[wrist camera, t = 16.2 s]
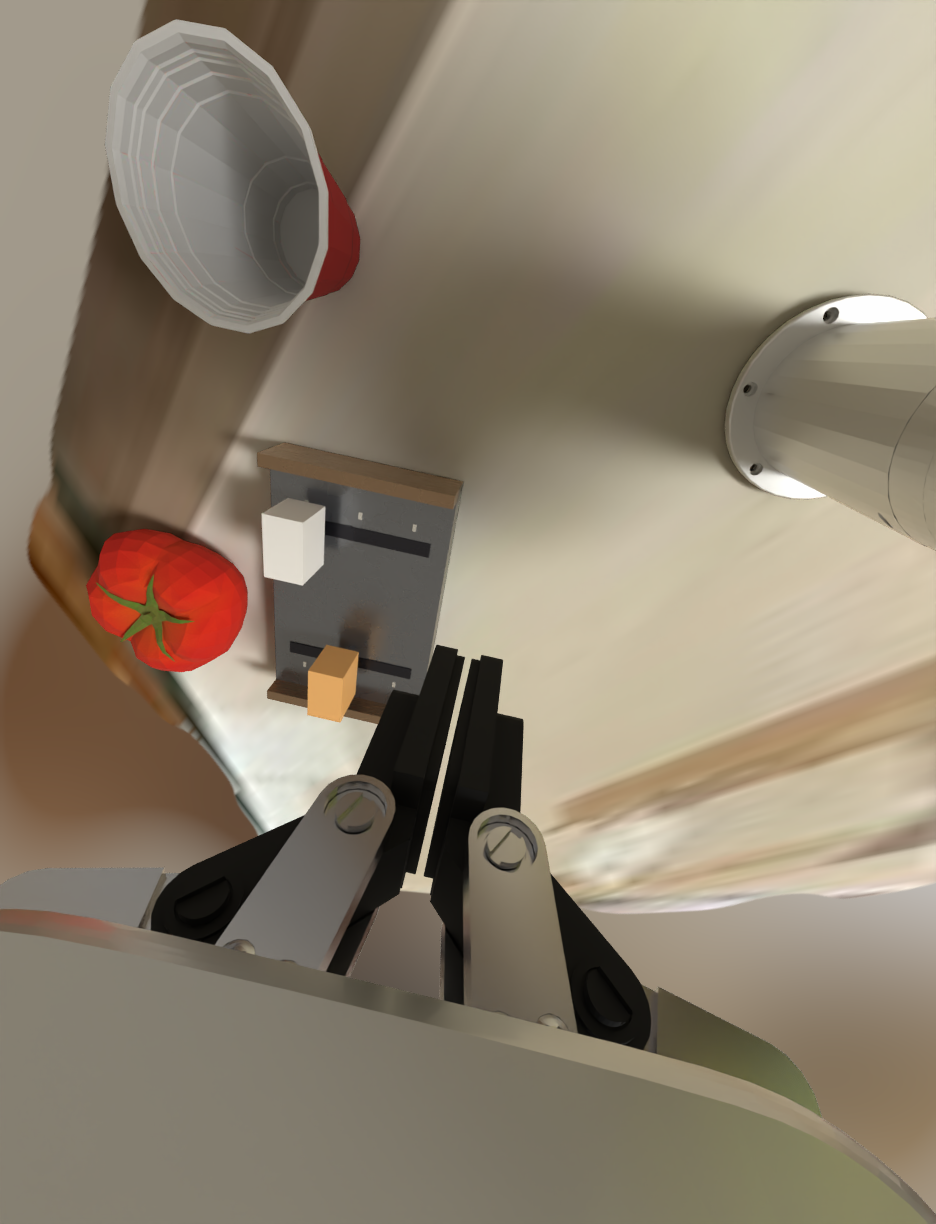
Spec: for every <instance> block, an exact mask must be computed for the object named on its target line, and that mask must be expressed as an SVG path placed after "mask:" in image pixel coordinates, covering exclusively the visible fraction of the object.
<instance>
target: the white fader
mask: <svg viewBox="0 0 936 1224" xmlns="http://www.w3.org/2000/svg"><path fill="white" fill-rule="evenodd" d="M324 535H325V506H322V505H318V504H313V503H309V502H304V501H300V500H295V499H291V498H287V499H285V500H283V501H282V502H280V503H278V504H277V505H275V506H273V507H272V508H270V509H268V510H267V511H265V512H263V513H262V538H263V563H264V577H267V578H271V579H276V580H280V581H285V582H289V583H294V584H298V585H302V586H303V585H304V584H305V583H306V582H307V581H308V580H309V579H310V578H311V577H312V576H313V575H314V574H315V573H316V572H317V571H318V570H319V569H320V568H321V567H322V566H323V565H324Z"/></svg>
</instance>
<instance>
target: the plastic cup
mask: <svg viewBox="0 0 936 1224" xmlns="http://www.w3.org/2000/svg"><path fill="white" fill-rule="evenodd" d="M105 148H106V154H107V159H108V164H109V169H110V175H111V180H112V185H113V191H114V196H115V201H116V206H117V208H118V210H119V212H120V214H121V216H122V219H123V221H124V223H125V225H126V227H127V230H128V232H129V234H130V236H131V238H132V241H133V243H134V245H135V247H136V249H137V251H138V254H139V256H140V258H141V259H142V261H143V262H144V263H145V264H146V266H147V267H148V268H149V269H150V271H151V272H152V273H153V274H154V276H155V277H156V278H157V279H158V281H159V282H160V283H161V284H162V286H163V287H164V288H165V289H166V291H167V292H168V293H169V294H170V296H171V297H172V298H173V299H174V300H175V301H177V302H178V303H179V304H181V305H182V306H184V307H185V308H187V309H188V310H190V311H191V312H193V313H194V314H195V315H197V316H198V317H200V318H201V319H203V320H204V321H206V322H207V323H208V324H210V325H212V326H217V327H221V328H226V329H230V330H235V331H239V332H244V333H248V334H249V333H252V332H256V331H259V330H263V329H266V328H270V327H273V326H276V325H280V324H283V323H284V322H285V321H286V320H287V319H288V318H289V317H290V316H291V315H292V314H293V313H294V312H295V311H296V310H297V309H298V308H299V307H300V306H301V305H302V304H303V303H304V302H305V301H307V300H310V299H314V298H317V297H321V296H324V295H327V294H328V293H331V292H335V291H338V290H339V289H341V288H342V287H343V286H344V285H345V284H346V283H347V282H348V281H349V280H350V279H351V278H352V276H353V274H354V271H355V269H356V266H357V264H358V261H359V253H360V236H359V232H358V228H357V224H356V220H355V216H354V214H353V212H352V210H351V209H350V207H349V206H348V204H347V201H346V198H345V197H344V195H343V193H342V192H341V190H340V189H339V187H338V185H337V184H336V182H335V180H334V179H333V177H332V176H331V174H330V172H329V171H328V169H327V168H326V166H325V165H324V163H323V161H322V158H321V157H320V155H319V154H318V152H317V149H316V145H315V142H314V138H313V134H312V131H311V129H310V127H309V125H308V123H307V121H306V120H305V118H304V117H303V115H302V113H301V112H300V110H299V108H298V107H297V105H296V104H295V102H294V100H293V99H292V97H291V95H290V94H289V92H288V91H287V89H286V87H285V86H284V84H283V82H282V81H281V79H280V78H279V76H278V74H277V73H276V71H275V69H274V68H273V66H271V65H270V64H269V63H268V62H266V61H265V60H264V59H263V58H261V57H260V56H259V55H258V54H256V53H255V52H254V51H253V50H251V49H250V48H249V47H248V46H246V45H245V44H244V43H243V42H241V41H240V40H239V39H238V38H236V37H235V36H234V35H233V34H232V33H230V32H229V31H228V30H227V29H225V28H220V27H215V26H209V25H204V24H198V23H193V22H187V21H182V20H176V19H175V20H174V21H172V22H170V23H168V24H166V25H164V26H162V27H160V28H159V29H157V30H155V31H153V32H151V33H149V34H147V35H145V36H143V37H142V38H140V39H138V40H136V41H135V42H134V44H133V46H132V48H131V49H130V51H129V53H128V55H127V57H126V59H125V60H124V62H123V64H122V66H121V68H120V70H119V72H118V73H117V75H116V77H115V79H114V81H113V83H112V85H111V87H110V97H109V107H108V117H107V128H106V139H105Z"/></svg>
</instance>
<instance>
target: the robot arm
mask: <svg viewBox="0 0 936 1224" xmlns="http://www.w3.org/2000/svg"><path fill="white" fill-rule="evenodd" d="M825 312H827V318H826V319H825V320H824V321H823V315H824V313H825ZM745 385H748V386H749V389H748V391H747V392H745V393H744V392H743V389H744V387H745ZM725 437H726V445H727V448H728V451H729V454H730V457H731V460H732V461H733V463H734V464H735V466H736V468H737V469H738V471H739V472H740V473H741V474H742V475H743V476H744V477H745V478H746V479H747V480H748V481H749V482H750V483H752V484H754V485H755V486H757V487H758V488H759V489H761V490H763V491H766V492H768V493H770V494H772V495H774V496H779V497H784V498H788V499H815V498H822V497H830V498H832V499H834V500H835V501H837V502H839V503H841V504H843V505H845V506H847V507H849V508H851V509H853V510H855V511H857V512H859V513H861V514H863V515H865V516H867V517H869V518H871V519H873V520H875V521H877V522H879V523H880V524H882V525H884V526H886V527H888V528H890V529H892V530H894V531H896V532H898V533H900V534H902V535H904V536H906V537H908V538H910V539H912V540H914V541H916V542H918V543H920V544H922V545H924V546H926V547H929V548H931V549H933V550H935V551H936V318H928V317H927V316H926V315H925V314H924V312H922V311H921V310H919V309H918V308H917V307H915V306H914V305H912V304H911V303H909V302H907V301H905V300H902V299H899V298H896V297H893V296H890V295H879V294H861V295H852V296H846V297H841V298H837V299H833V300H828V301H826V302H823V303H821V304H819V305H816V306H814V307H811V308H809V309H807V310H805V311H803V312H802V313H800V314H798V315H797V316H795V317H793V318H792V319H790V320H788V321H787V322H785V323H784V324H783V325H782V326H781V327H779V328H778V329H777V330H776V331H775V332H773V333H772V334H771V335H770V336H769V337H768V338H767V339H766V340H765V341H764V342H763V343H762V344H761V345H760V346H759V348H758V349H757V350H756V351H755V352H754V353H753V354H752V356H751V357H750V359H749V360H748V362H747V363H746V365H745V366H744V368H743V369H742V371H741V372H740V374H739V376H738V379H737V381H736V383H735V385H734V387H733V389H732V392H731V395H730V399H729V402H728V405H727V409H726V418H725ZM753 464H755V467H754V468H753V469H752V470H750V467H751V466H752V465H753ZM457 652H458V649H453V648H449V647H445V646H440V645H436V648H435V650H434V653H433V656H432V659H431V662H430V665H429V668H428V671H427V674H426V677H425V680H424V683H423V686H422V689H421V692H420V694H419V695H416V694H411V693H407V692H403V691H398V690H393V691H392V693H391V695H390V697H389V699H388V702H387V704H386V706H385V709H384V711H383V713H382V716H381V718H380V721H379V723H378V725H377V728H376V730H375V732H374V735H373V737H372V739H371V742H370V744H369V746H368V749H367V751H366V754H365V756H364V758H363V761H362V763H361V765H360V768H359V770H358V772H357V775H348V776H345V777H341V778H338V779H337V780H335V781H333V782H332V783H330V784H328V785H327V787H326V788H325V789H324V790H323V791H322V792H321V793H320V794H319V796H318V797H317V799H316V800H315V802H314V803H313V804H312V806H311V807H310V809H309V810H308V812H307V813H306V814H305V815H304V816H302V817H299V818H297V819H295V820H293V821H290V822H288V823H286V824H284V825H282V826H279V827H277V828H275V829H273V830H270V831H268V832H266V833H264V834H262V835H259V836H257V837H255V838H253V839H250V840H248V841H246V842H244V843H242V844H239V845H237V846H235V847H233V848H230V849H228V850H226V851H224V852H222V853H219V854H217V855H215V856H213V857H211V858H208V859H206V860H204V861H202V862H199V863H197V864H195V865H193V866H191V867H190V868H188V869H186V870H185V871H183V872H181V873H165V869H164V868H45V869H38V870H32V871H27V872H25V873H23V874H20V875H18V876H15V877H13V878H10V879H8V880H7V881H5V882H4V883H2V884H1V885H0V1224H936V1214H935V1213H934V1212H933V1211H932V1209H931V1208H930V1207H929V1206H928V1205H927V1204H926V1203H925V1202H924V1201H923V1200H922V1198H921V1197H920V1196H919V1195H918V1194H917V1193H916V1192H915V1191H914V1190H913V1189H912V1188H911V1187H910V1186H909V1185H908V1184H906V1183H905V1182H904V1181H903V1180H902V1179H901V1178H900V1177H899V1176H898V1175H897V1174H896V1173H894V1172H893V1171H892V1170H891V1169H890V1168H888V1167H887V1166H886V1165H885V1164H884V1163H883V1162H882V1161H881V1160H879V1159H878V1158H877V1157H876V1156H875V1155H873V1154H872V1153H871V1152H870V1151H868V1150H867V1149H866V1148H864V1147H863V1146H862V1145H860V1144H859V1143H857V1142H856V1141H855V1140H854V1139H852V1138H851V1137H850V1136H848V1135H847V1134H846V1133H845V1132H843V1131H842V1130H840V1129H839V1128H837V1127H835V1126H834V1125H832V1124H831V1123H829V1122H828V1121H826V1120H824V1119H823V1118H822V1115H821V1112H820V1109H819V1106H818V1103H817V1100H816V1098H815V1094H814V1092H813V1090H812V1089H811V1087H810V1086H809V1084H808V1082H807V1080H806V1079H805V1077H804V1075H803V1074H802V1072H801V1071H800V1070H799V1069H798V1067H797V1066H796V1065H795V1064H794V1063H793V1062H792V1061H791V1060H790V1058H789V1057H788V1056H787V1055H786V1054H784V1053H783V1052H782V1051H780V1050H779V1049H777V1048H776V1047H775V1046H773V1045H772V1044H770V1043H768V1042H766V1041H765V1040H763V1039H760V1038H759V1037H756V1036H755V1035H753V1034H750V1033H749V1032H747V1031H745V1030H742V1029H741V1028H739V1027H737V1026H735V1025H733V1024H731V1023H729V1022H727V1021H725V1020H723V1019H721V1018H719V1017H717V1016H715V1015H713V1014H711V1013H709V1012H707V1011H705V1010H703V1009H702V1008H699V1007H698V1006H696V1005H694V1004H692V1003H690V1002H688V1001H686V1000H684V999H682V998H680V997H678V996H675V995H674V994H672V993H670V992H668V991H666V990H664V989H662V988H660V987H658V988H657V989H656V990H655V991H653V990H651V989H649V988H647V987H645V986H643V985H642V984H641V983H640V982H639V980H638V979H637V977H636V976H635V974H634V973H633V971H632V970H631V969H630V967H629V966H628V965H627V964H626V963H625V962H624V960H623V959H622V958H621V957H620V956H619V955H618V953H617V952H616V951H615V950H614V949H613V947H612V946H611V945H610V944H609V942H608V941H607V940H606V939H605V938H604V937H603V935H602V934H601V933H600V932H599V931H598V929H597V928H596V927H595V926H594V925H593V924H592V922H591V921H590V920H589V919H588V917H587V916H586V915H585V914H584V913H583V911H582V910H581V909H580V908H579V907H578V906H577V904H576V903H575V902H574V901H573V900H572V898H571V897H570V896H569V895H568V894H567V892H566V891H565V890H564V889H563V888H562V886H561V885H560V884H559V883H558V882H557V880H556V879H555V878H554V877H553V876H552V875H551V873H550V868H549V862H548V857H547V851H546V845H545V842H544V839H543V836H542V834H541V832H540V831H539V829H538V828H537V826H536V825H535V824H534V823H533V822H532V821H531V820H530V819H529V818H528V817H526V816H525V815H523V814H521V813H520V807H521V780H522V753H523V719H520V718H516V717H511V716H507V715H503V714H498V713H497V711H498V702H499V693H500V684H501V675H502V666H503V660H502V659H497V658H493V657H489V656H484V655H481V659H480V660H475V659H472V660H471V665H470V669H469V673H468V678H467V682H466V686H465V691H464V695H463V699H462V704H461V708H460V712H459V716H458V721H457V725H456V729H455V734H454V738H453V743H452V747H451V752H450V756H449V761H448V765H447V770H446V775H445V779H444V784H443V789H442V793H441V798H440V803H439V807H438V812H437V816H436V821H435V826H434V830H433V835H432V840H431V844H430V849H429V854H428V858H427V863H426V867H425V872H424V876H425V877H429V878H433V882H432V887H431V893H430V895H431V901H430V902H431V903H432V905H433V907H434V908H435V910H436V911H437V913H438V915H439V916H440V918H441V919H442V921H443V922H442V928H441V952H440V954H441V955H440V988H439V990H440V991H439V999H436V998H432V997H428V996H423V995H419V994H415V993H411V992H407V991H403V990H399V989H395V988H391V987H386V986H382V985H378V984H374V983H370V982H365V981H362V980H358V979H353V978H350V975H351V973H352V971H353V968H354V966H355V964H356V962H357V959H358V957H359V955H360V952H361V950H362V948H363V946H364V943H365V941H366V939H367V937H368V934H369V932H370V930H371V927H372V925H373V923H374V921H375V918H376V916H377V913H378V910H379V906H381V905H382V904H384V903H385V902H387V901H389V900H390V899H392V898H393V897H395V896H397V895H398V894H399V892H400V888H402V885H403V881H404V877H405V873H406V872H408V873H412V874H416V870H417V866H418V861H419V857H420V853H421V849H422V844H423V840H424V836H425V831H426V827H427V823H428V818H429V814H430V810H431V805H432V801H433V797H434V792H435V788H436V784H437V780H438V775H439V771H440V767H441V762H442V758H443V754H444V749H445V745H446V741H447V736H448V732H449V727H450V723H451V718H452V714H453V709H454V705H455V700H456V696H457V691H458V687H459V682H460V678H461V673H462V669H463V664H464V660H465V657H462V656H458V655H457Z"/></svg>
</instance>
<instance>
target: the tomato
mask: <svg viewBox="0 0 936 1224" xmlns="http://www.w3.org/2000/svg"><path fill="white" fill-rule="evenodd" d="M86 586H87V591H88V595H89V600H90V606H91V612H92V616H93V617H94V618H95V619H96V620H97V621H98V623H99V624H100V625H101V626H102V627H103V628H104V629H105V630H106V631H108V632H110V633H112V634H115V635H117V636H119V637H122V640H121V642H122V641H124V640H129V641H131V644H132V646H133V649H134V652H135V655H136V657H137V658H138V659H140V660H141V661H143V662H144V663H146V664H147V665H149V666H150V667H153V668H156V669H159V670H165V671H174V672H185V671H192V670H194V669H196V668H198V667H200V666H202V665H204V664H206V663H208V662H210V661H212V660H213V659H215V658H217V657H218V656H220V655H222V654H223V653H225V652H227V651H228V650H229V648H230V647H231V645H232V644H233V642H234V640H235V638H236V637H237V635H238V633H239V632H240V630H241V628H242V625H243V621H244V618H245V614H246V610H247V587H246V584H245V580H244V577H243V575H242V574H241V573H240V572H239V570H238V569H237V568H236V567H235V566H234V564H232V563H231V562H229V561H228V560H226V559H225V558H223V557H222V556H221V555H219V554H218V553H215V552H213V551H211V550H209V549H207V548H205V547H203V546H201V545H198V544H194V543H191V542H187V541H184V540H182V539H180V538H178V537H176V536H174V535H172V534H171V533H166V532H160V531H155V530H149V529H140V530H133V531H126V532H121V533H116V534H113V535H112V536H111V537H110V538H108V539H107V540H106V541H105V543H104V545H103V548H102V550H101V553H100V557H99V563H98V566H97V568H96V569H95V571H94V572H93V574H92V576H91V578H90V579H89V581H88V583H87V585H86Z"/></svg>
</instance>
